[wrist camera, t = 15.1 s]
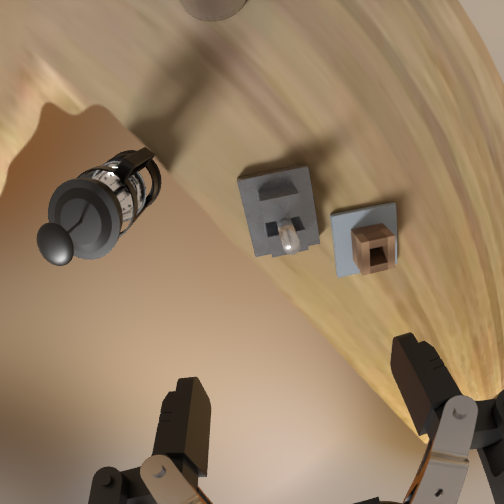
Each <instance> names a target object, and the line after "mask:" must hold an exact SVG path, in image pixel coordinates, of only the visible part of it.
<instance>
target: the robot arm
mask: <svg viewBox="0 0 504 504" xmlns="http://www.w3.org/2000/svg"><path fill="white" fill-rule="evenodd" d="M180 2H181V4H182V5H183V7H184V8H185V10H186V11H187V12H188V13H189V14H190V15H192V16H193V17H195V18H198V19H200V20H205V21H217V20H223V19H226V18H228V17H230V16H232V15H234V14H235V13H237V12H238V11H239V10H240V9H241V8H242V7H243V6H244V4H245V2H246V0H180ZM391 370H392V374H393V376H394V379H395V381H396V383H397V385H398V388H399V390H400V392H401V394H402V397H403V399H404V401H405V404H406V406H407V408H408V411H409V413H410V415H411V418H412V420H413V423H414V425H415V427H416V430H417V432H418V435H419V436H421V435H423V434H426V433H427V434H428V437H429V441H428V444H427V447H426V450H425V453H424V455H423V458H422V461H421V464H420V466H419V468H418V471H417V473H416V476H415V478H414V480H413V483H412V485H411V486H410V488H409V490H408V492H407V494H406V496H405V498H404V501H403V503H398V502H391V501H379V497H376V498H373V499H369V500H366V501H362V502H358V503H354V504H457V501H458V498H459V496H460V493H461V490H462V487H463V484H464V481H465V477H466V474H467V471H468V467H469V461H468V453H469V450H470V449H477V451H478V454H479V457H480V459H481V462H482V465H483V468H484V470H485V473H486V476H487V479H488V482H489V485H490V488H491V491H492V494H493V498H494V501H495V504H504V390H503V391H502V392H500V394H499V395H498V397H497V398H496V399H490V400H484V401H474V400H473V399H472V398H470V397H468V396H464V395H463V394H462V393H461V392H460V390H459V388H458V386H457V385H456V383H455V381H454V380H453V378H452V376H451V374H450V373H449V371H448V369H447V368H446V366H444V363H443V361H442V359H440V356H439V355H438V353H437V351H436V350H435V348H434V347H433V346H431V345H430V344H428V343H427V342H426V341H422V342H419V343H418V341H417V340H416V338H415V336H414V335H413V334H412V333H411V332H409V333H406V334H403V335H400V336H396V337H394V338H393V344H392V353H391ZM210 419H211V404H210V400H209V397H208V395H207V394H206V392H205V390H204V388H203V386H202V384H201V382H200V380H199V379H198V378H197V377H189V378H180V379H178V382H177V387H176V391H173V392H169V393H168V394H167V396H166V397H165V399H164V400H163V402H162V407H161V414H160V417H159V423H158V427H157V432H156V437H155V442H154V448H153V453H152V456H151V457H149V458H147V459H146V460H145V461H144V462H143V464H142V466H140V467H137V468H134V469H130V470H126V471H121V472H120V471H118V470H117V469H116V468H113V467H103V468H101V469H100V470H98V471H97V472H96V474H95V475H94V477H93V481H92V486H91V491H90V496H89V502H88V504H213V503H212V502H211V501H210V500H209V498H208V497H207V496H206V495H205V494H204V493H203V491H202V490H201V489H200V487H198V477H207V467H208V450H209V435H210Z"/></svg>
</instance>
